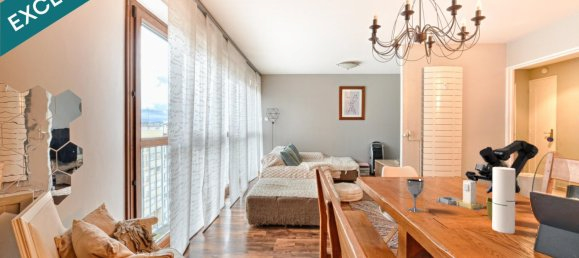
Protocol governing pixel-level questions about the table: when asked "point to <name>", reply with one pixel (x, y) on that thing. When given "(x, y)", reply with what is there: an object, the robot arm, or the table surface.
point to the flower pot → (489, 207)
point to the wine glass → (415, 191)
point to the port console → (460, 203)
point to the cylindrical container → (503, 200)
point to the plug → (469, 191)
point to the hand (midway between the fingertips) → (477, 190)
